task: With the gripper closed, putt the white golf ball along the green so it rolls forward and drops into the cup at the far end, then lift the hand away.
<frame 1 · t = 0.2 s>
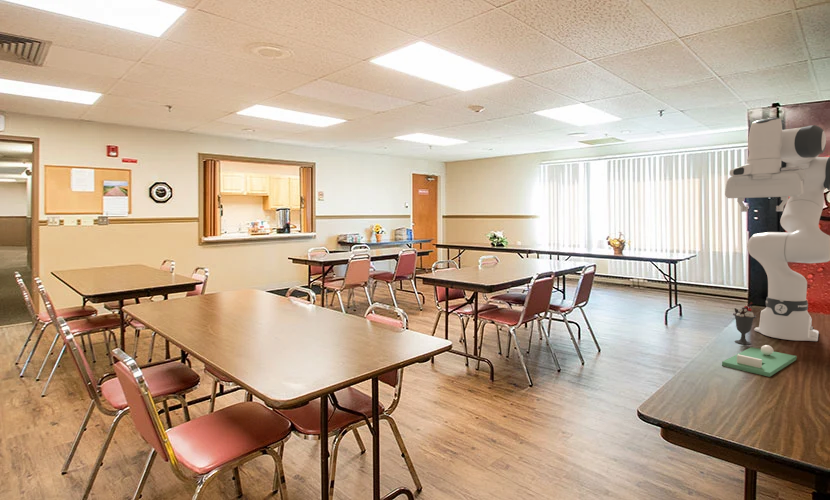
hand: (761, 211, 146), 47 cm above the table, tool pointing down, fingers open, 8 cm apart
ball: (767, 350, 142), point 3 cm above the table, touching green
sundae: (743, 343, 160), on the table
green: (759, 362, 139), on the table
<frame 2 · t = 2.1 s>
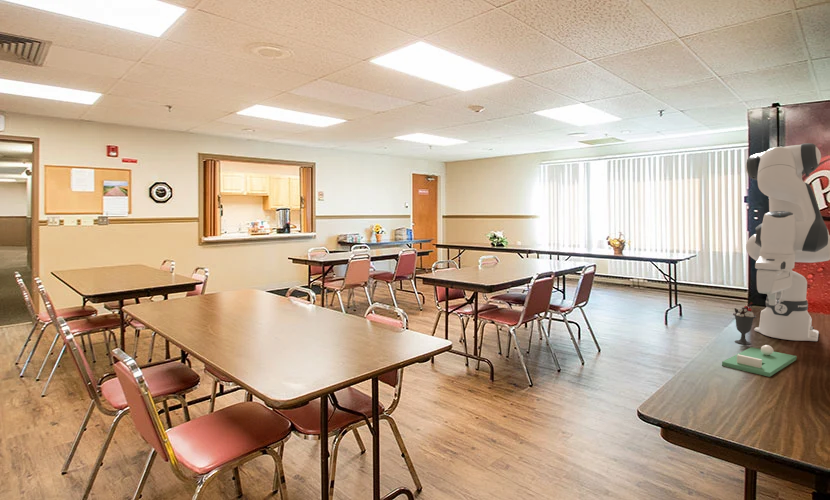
hand: (774, 304, 144), 17 cm above the table, tool pointing down, fingers closed
nothing on the table moved.
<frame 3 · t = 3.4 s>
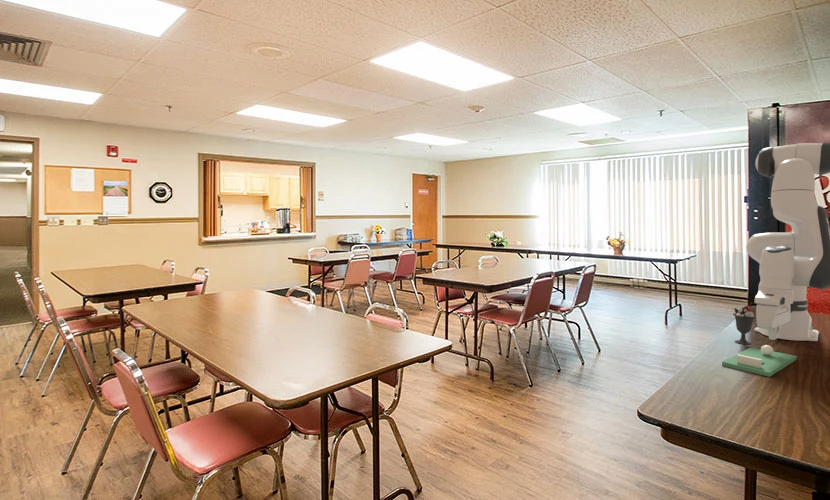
hand: (773, 338, 144), 6 cm above the table, tool pointing down, fingers closed
nothing on the table moved.
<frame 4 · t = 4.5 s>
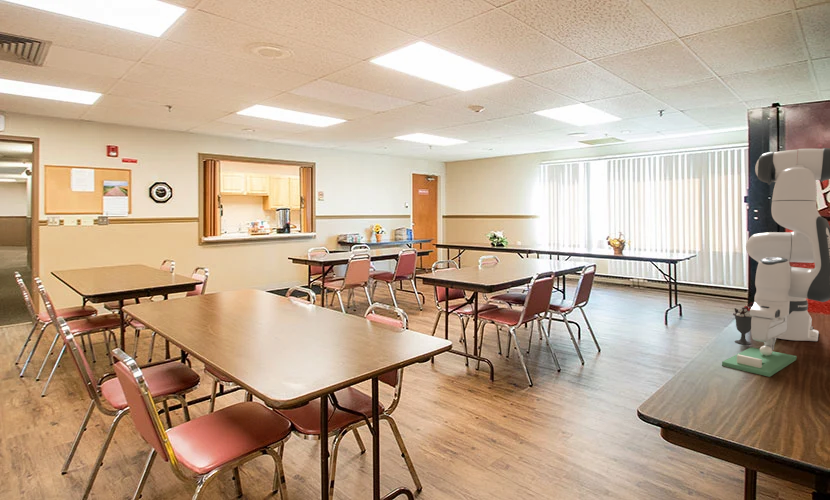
hand: (769, 350, 144), 2 cm above the table, tool pointing down, fingers closed
ball: (766, 350, 142), point 3 cm above the table, tilted 34°, touching green, gripper
everything else where it was.
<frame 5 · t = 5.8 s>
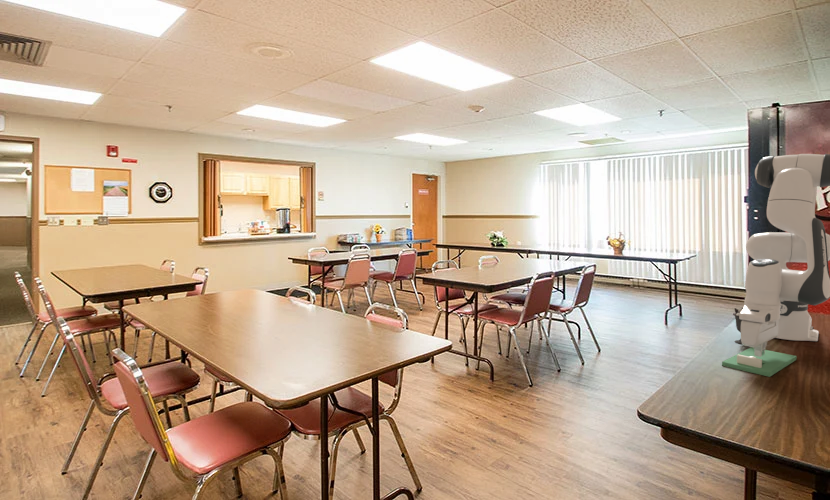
hand: (759, 355, 138), 2 cm above the table, tool pointing down, fingers closed
ball: (752, 361, 135), point 2 cm above the table, tilted 108°, touching green
everything else where it was.
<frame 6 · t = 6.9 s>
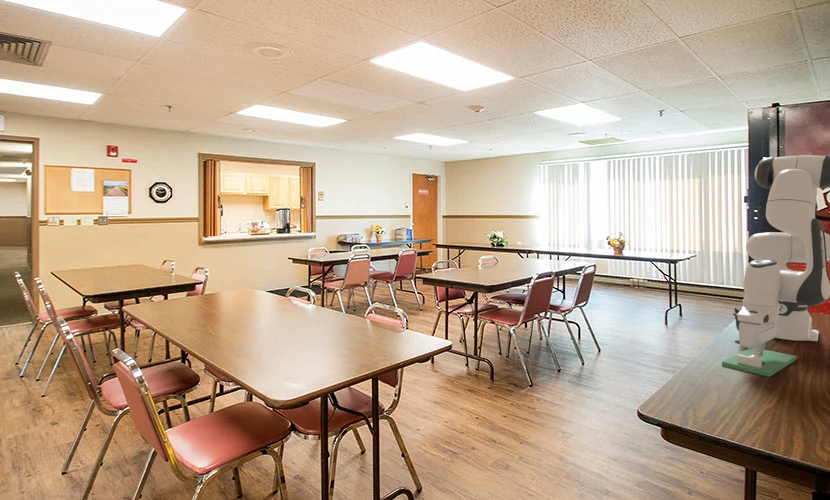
hand: (757, 356, 138), 2 cm above the table, tool pointing down, fingers closed
ball: (754, 360, 136), point 2 cm above the table, tilted 45°, touching green, gripper
everything else where it was.
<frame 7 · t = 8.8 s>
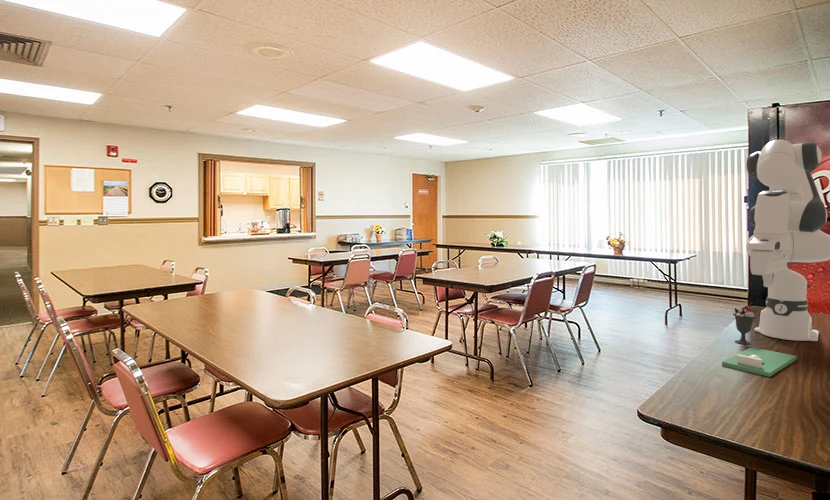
hand: (768, 286, 139), 24 cm above the table, tool pointing down, fingers closed
ball: (754, 360, 136), point 2 cm above the table, tilted 43°, touching green
everything else where it was.
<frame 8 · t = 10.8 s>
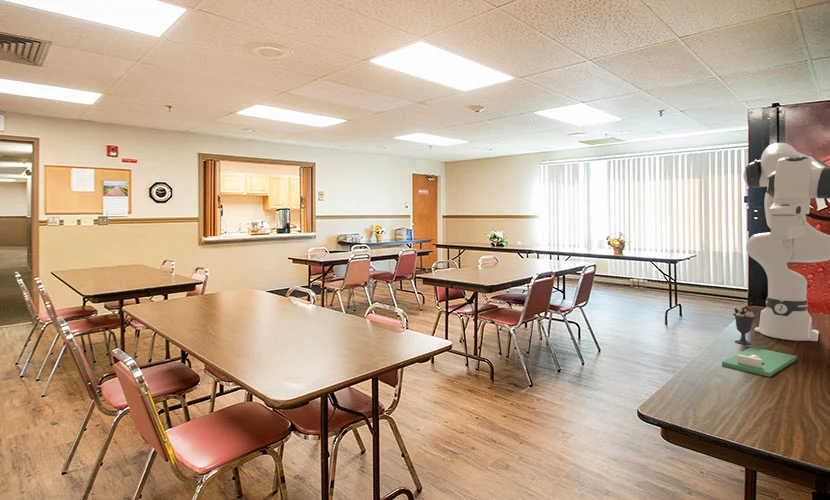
hand: (788, 252, 139), 34 cm above the table, tool pointing down, fingers closed
nothing on the table moved.
at the end: ball 1.0 cm from the target spot on the green, point 1.8 cm above the green's base; ball touching green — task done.
